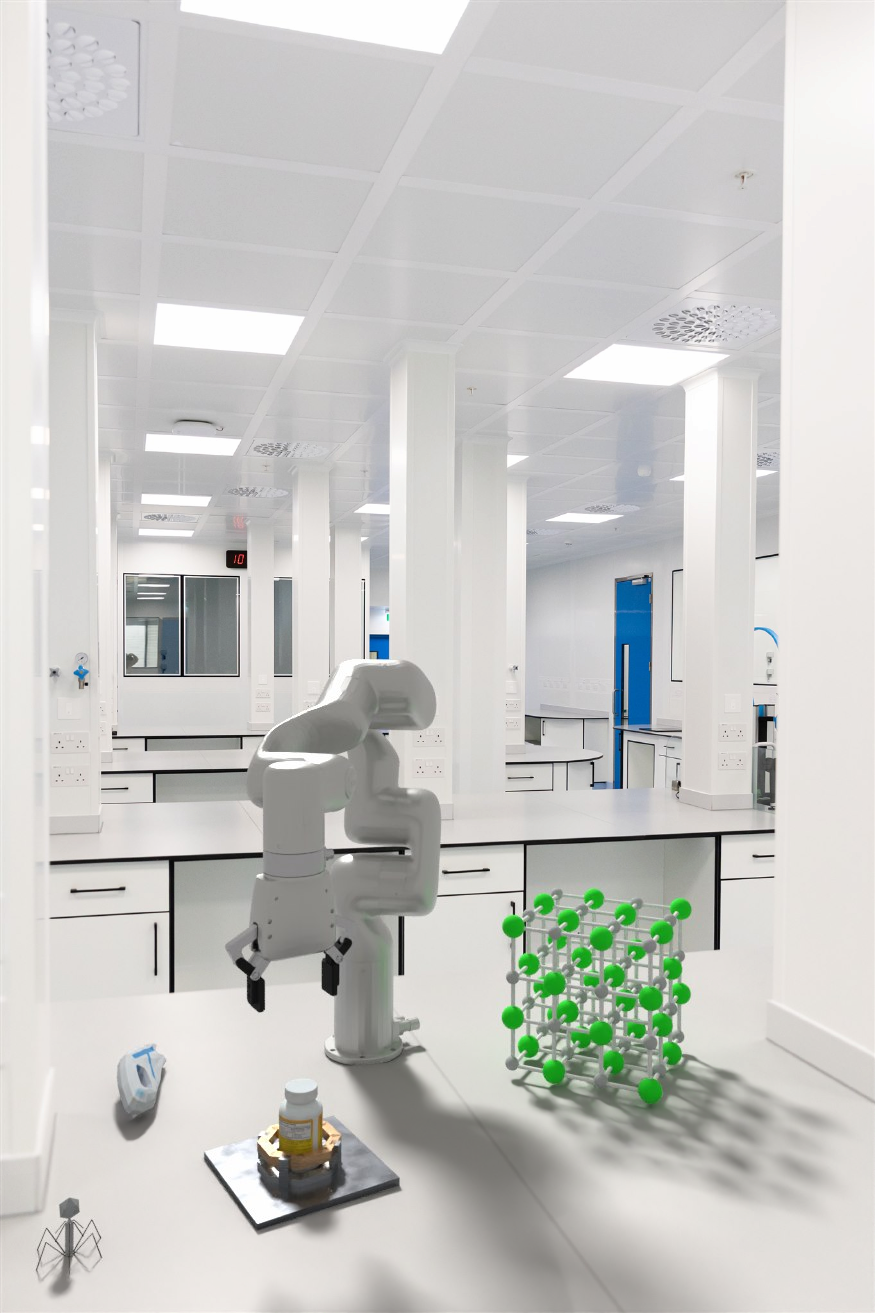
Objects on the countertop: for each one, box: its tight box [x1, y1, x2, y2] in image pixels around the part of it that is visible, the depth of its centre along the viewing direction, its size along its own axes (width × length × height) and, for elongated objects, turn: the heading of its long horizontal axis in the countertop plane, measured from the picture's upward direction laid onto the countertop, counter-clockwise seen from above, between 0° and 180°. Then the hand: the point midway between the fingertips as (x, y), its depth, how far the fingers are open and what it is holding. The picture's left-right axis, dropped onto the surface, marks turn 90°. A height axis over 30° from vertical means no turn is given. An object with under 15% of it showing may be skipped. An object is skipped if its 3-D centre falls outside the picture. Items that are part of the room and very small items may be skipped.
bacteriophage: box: [35, 1196, 103, 1275], centre depth 103 cm, size 7×8×7 cm
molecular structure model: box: [501, 887, 693, 1105], centre depth 153 cm, size 24×25×24 cm
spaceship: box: [116, 1043, 167, 1116], centre depth 141 cm, size 23×7×4 cm
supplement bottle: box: [278, 1078, 324, 1174], centre depth 120 cm, size 5×5×10 cm
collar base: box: [203, 1115, 401, 1231], centre depth 120 cm, size 18×18×4 cm
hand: (294, 1000), depth 120 cm, fingers open, 9 cm apart
